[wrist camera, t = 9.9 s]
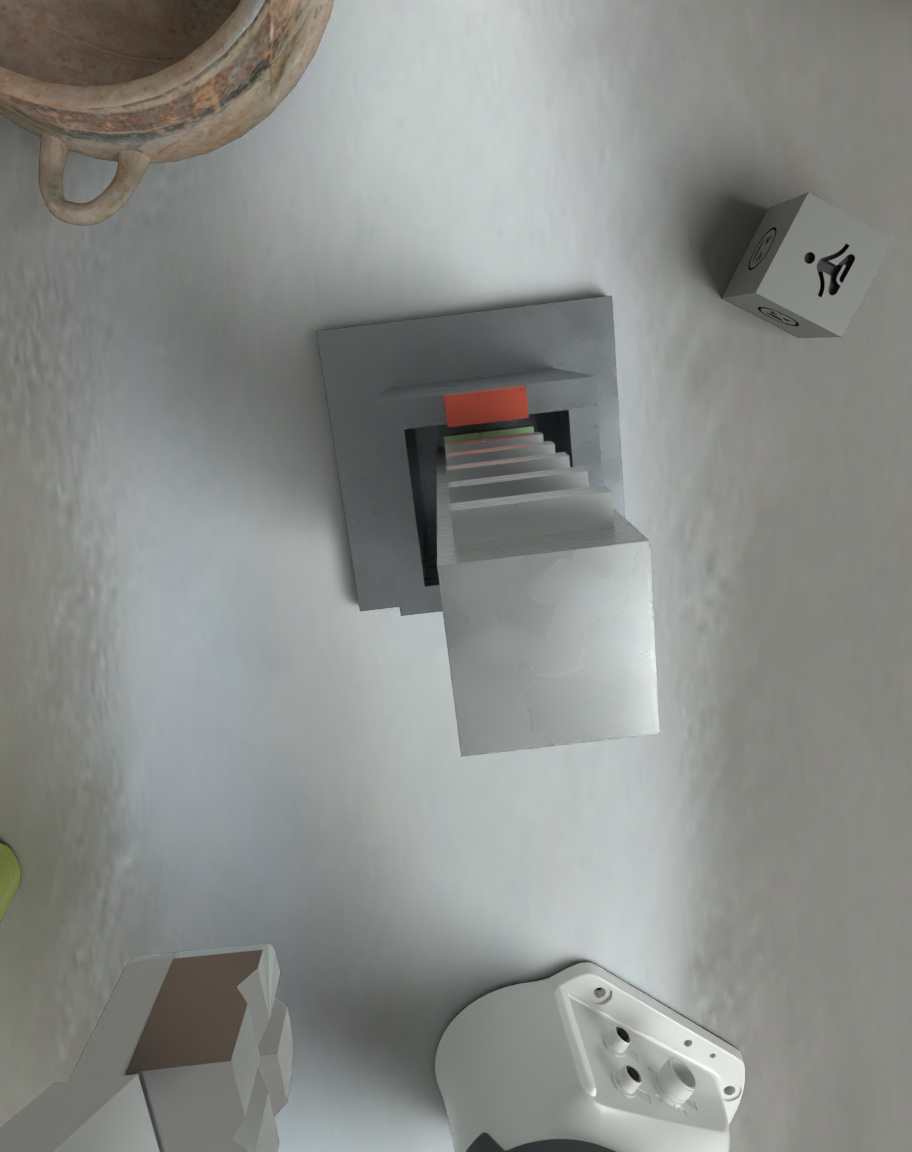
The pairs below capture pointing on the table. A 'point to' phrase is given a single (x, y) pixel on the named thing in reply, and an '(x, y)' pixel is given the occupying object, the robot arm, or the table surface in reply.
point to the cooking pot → (146, 80)
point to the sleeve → (457, 421)
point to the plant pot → (8, 877)
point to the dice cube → (808, 267)
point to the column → (540, 598)
